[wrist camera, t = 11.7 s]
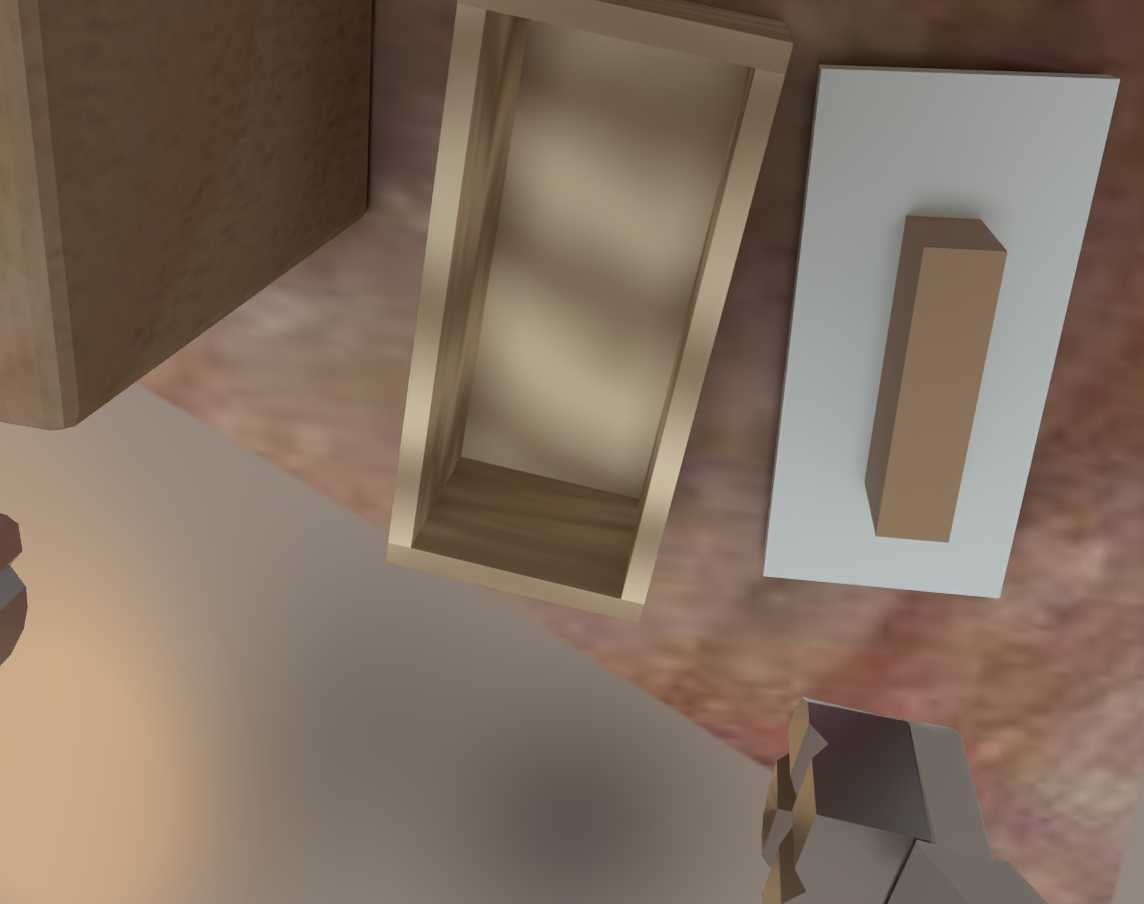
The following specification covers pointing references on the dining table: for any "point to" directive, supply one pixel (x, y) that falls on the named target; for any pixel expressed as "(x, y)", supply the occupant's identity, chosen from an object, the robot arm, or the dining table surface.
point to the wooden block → (162, 177)
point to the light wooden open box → (575, 285)
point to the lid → (927, 318)
